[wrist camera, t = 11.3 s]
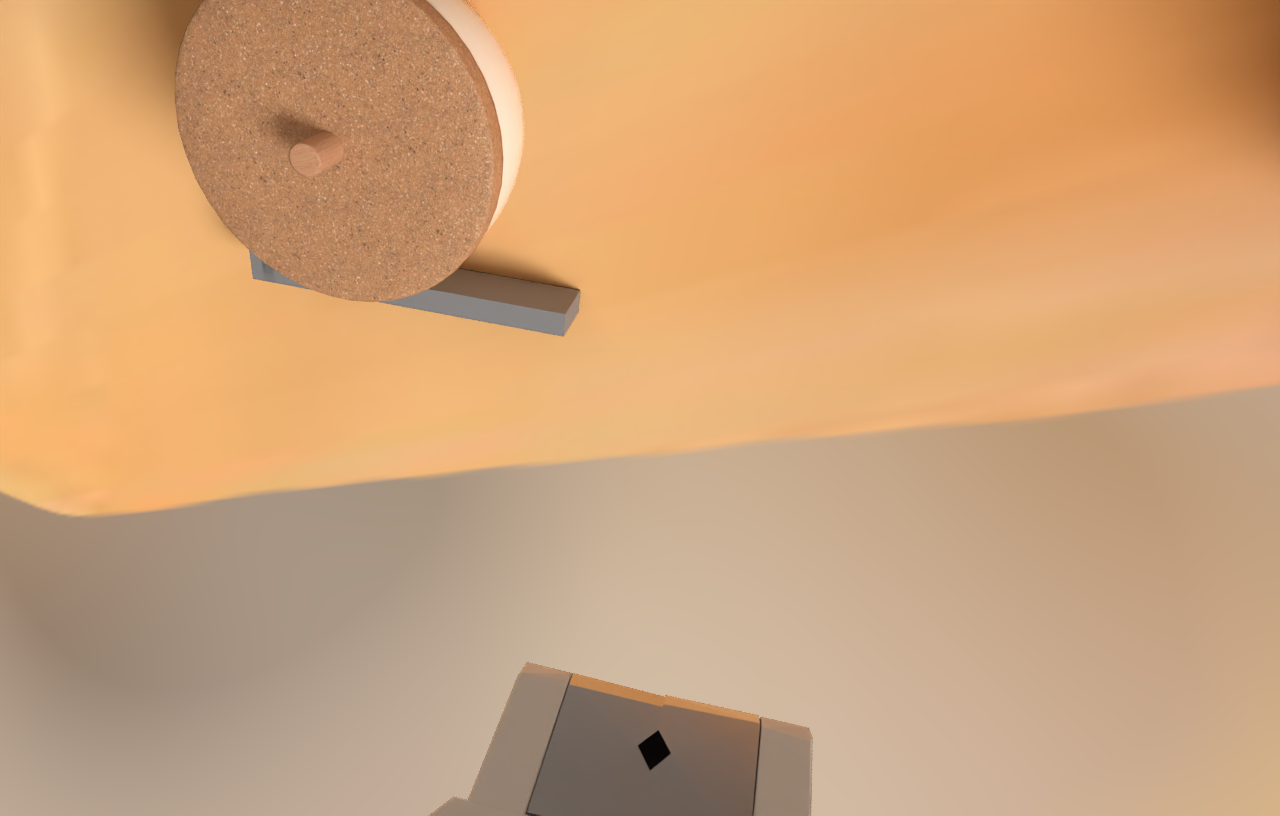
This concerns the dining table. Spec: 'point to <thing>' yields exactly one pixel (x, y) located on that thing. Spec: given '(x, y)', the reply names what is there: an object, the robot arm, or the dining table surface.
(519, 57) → the dining table surface
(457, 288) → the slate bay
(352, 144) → the lidded jar
